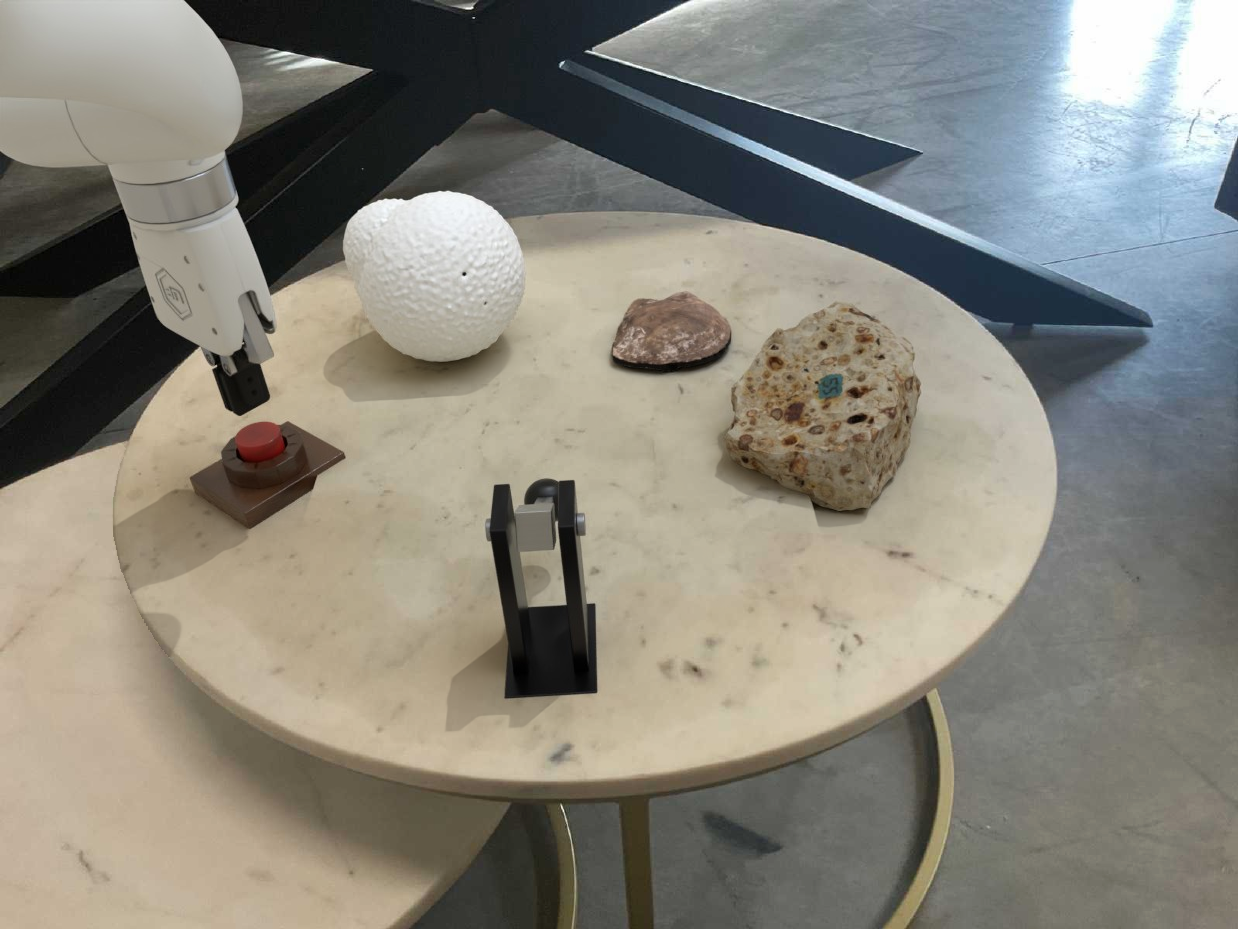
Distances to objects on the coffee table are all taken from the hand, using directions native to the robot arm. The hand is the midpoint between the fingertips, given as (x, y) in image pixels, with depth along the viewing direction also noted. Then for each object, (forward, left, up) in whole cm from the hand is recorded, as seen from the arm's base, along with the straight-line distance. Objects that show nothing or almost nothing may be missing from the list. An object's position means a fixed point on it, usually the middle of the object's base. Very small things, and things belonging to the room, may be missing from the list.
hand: (248, 404), depth 83 cm
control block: (0, 0, -8) cm, 8 cm away
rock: (+32, -34, -8) cm, 48 cm away
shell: (+37, -14, -8) cm, 41 cm away
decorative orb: (+23, +4, -8) cm, 25 cm away
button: (0, 0, -5) cm, 5 cm away
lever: (+2, -31, 0) cm, 31 cm away
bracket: (-1, -33, -8) cm, 34 cm away
